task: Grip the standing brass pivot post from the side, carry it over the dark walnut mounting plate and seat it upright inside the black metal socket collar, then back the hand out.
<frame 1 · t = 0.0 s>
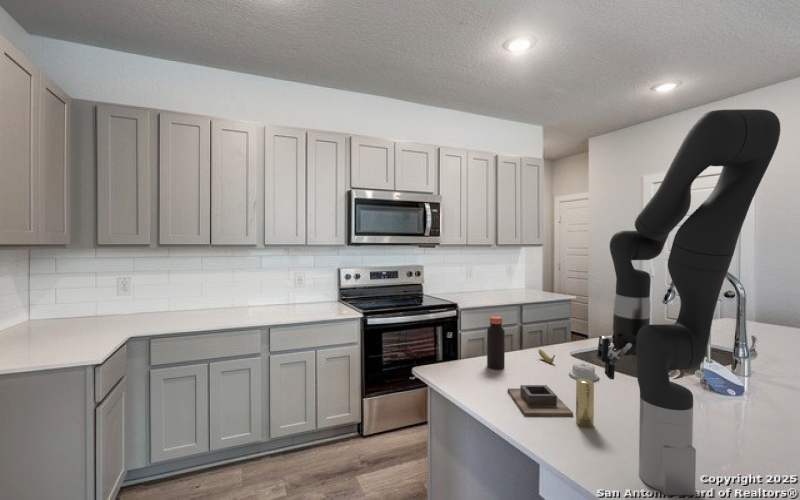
hand: (627, 378, 94), 17 cm above the counter, tool pointing down, fingers open, 8 cm apart
mechanical component: (583, 377, 143), on the counter
mounting plate: (537, 402, 120), on the counter
banana: (546, 361, 161), on the counter
pivot post: (584, 424, 106), on the counter
bottle: (495, 367, 154), on the counter
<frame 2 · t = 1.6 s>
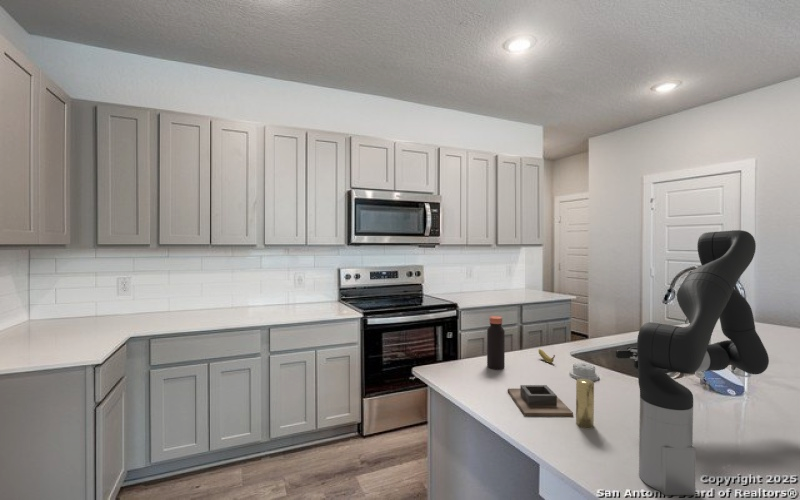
hand: (625, 359, 106), 18 cm above the counter, tool horizontal, fingers open, 8 cm apart
nothing on the counter moved.
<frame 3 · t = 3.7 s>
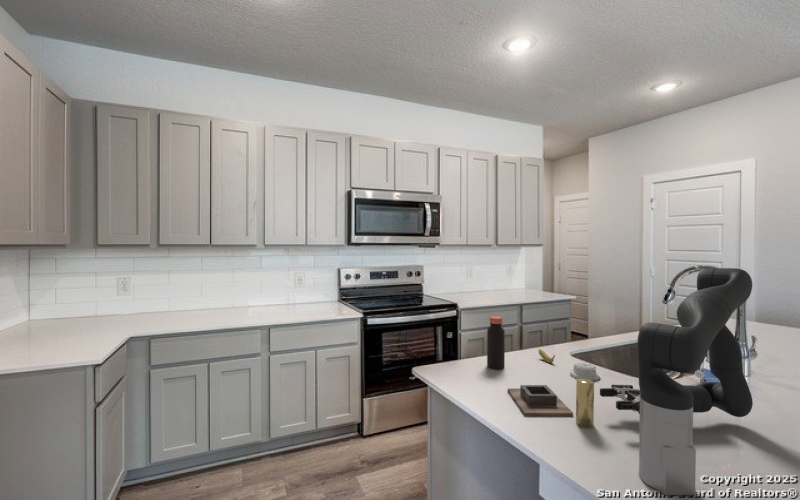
hand: (608, 398, 106), 7 cm above the counter, tool horizontal, fingers open, 8 cm apart
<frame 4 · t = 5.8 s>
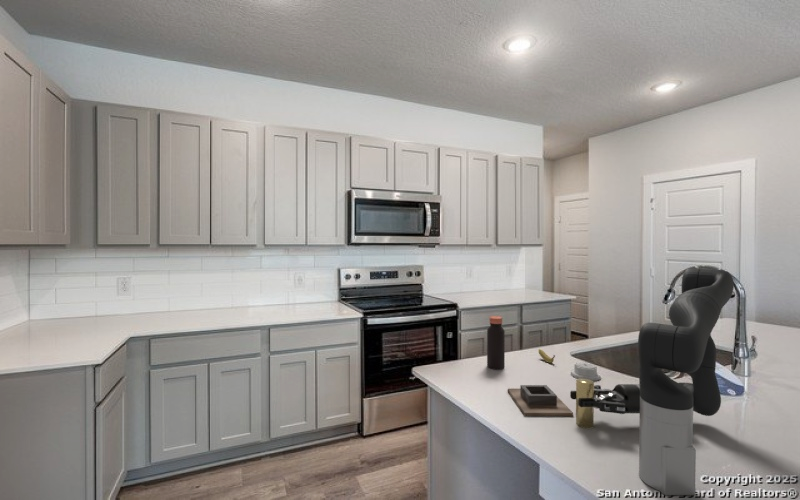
hand: (575, 398, 106), 7 cm above the counter, tool horizontal, fingers closed on pivot post, 4 cm apart
pivot post: (584, 424, 106), on the counter, touching gripper
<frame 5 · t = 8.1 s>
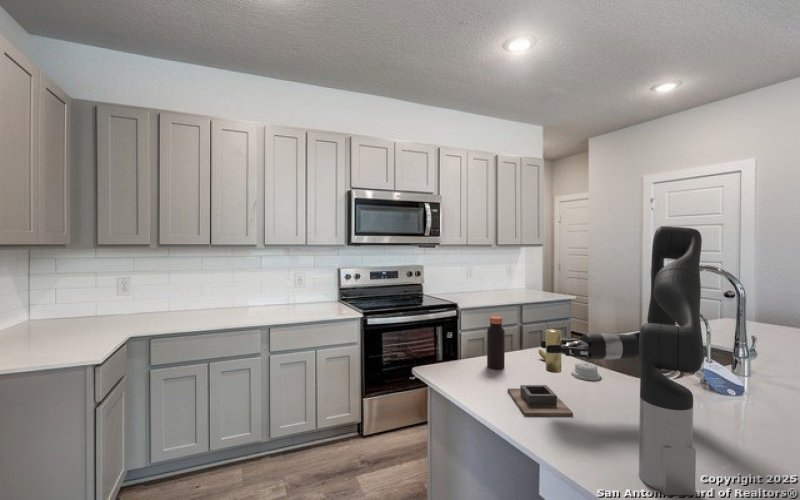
hand: (544, 346, 116), 19 cm above the counter, tool horizontal, fingers closed on pivot post, 4 cm apart
pivot post: (553, 370, 116), point 12 cm above the counter, touching gripper
when the fingers open (9 cm above the counter, at t = 10.5 s): pivot post drops 1 cm, resting on mounting plate.
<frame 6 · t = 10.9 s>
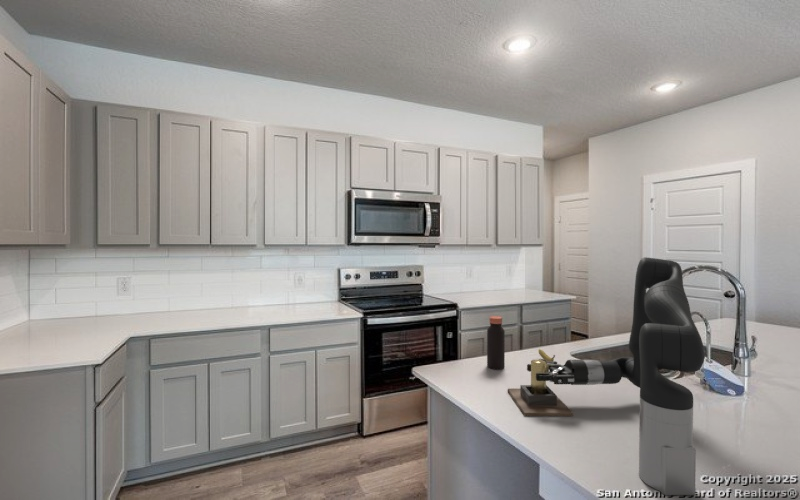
hand: (531, 372, 120), 10 cm above the counter, tool horizontal, fingers open, 8 cm apart
pivot post: (538, 399, 120), point 1 cm above the counter, touching mounting plate
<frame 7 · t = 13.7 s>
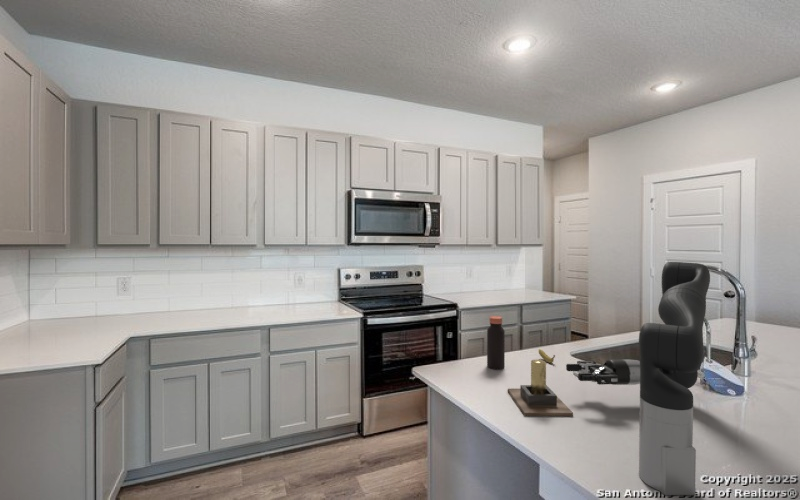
hand: (572, 372, 120), 10 cm above the counter, tool horizontal, fingers open, 8 cm apart
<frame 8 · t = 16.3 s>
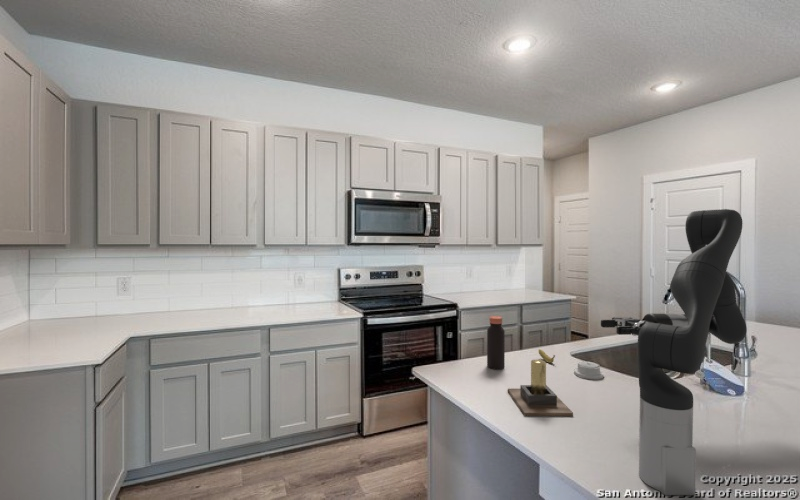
hand: (609, 326, 110), 26 cm above the counter, tool horizontal, fingers open, 8 cm apart
at the end: pivot post 0.1 cm off-centre on the mounting plate, point 1.0 cm above the mounting plate's base; pivot post tilted 0°; the gripper is holding nothing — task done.
